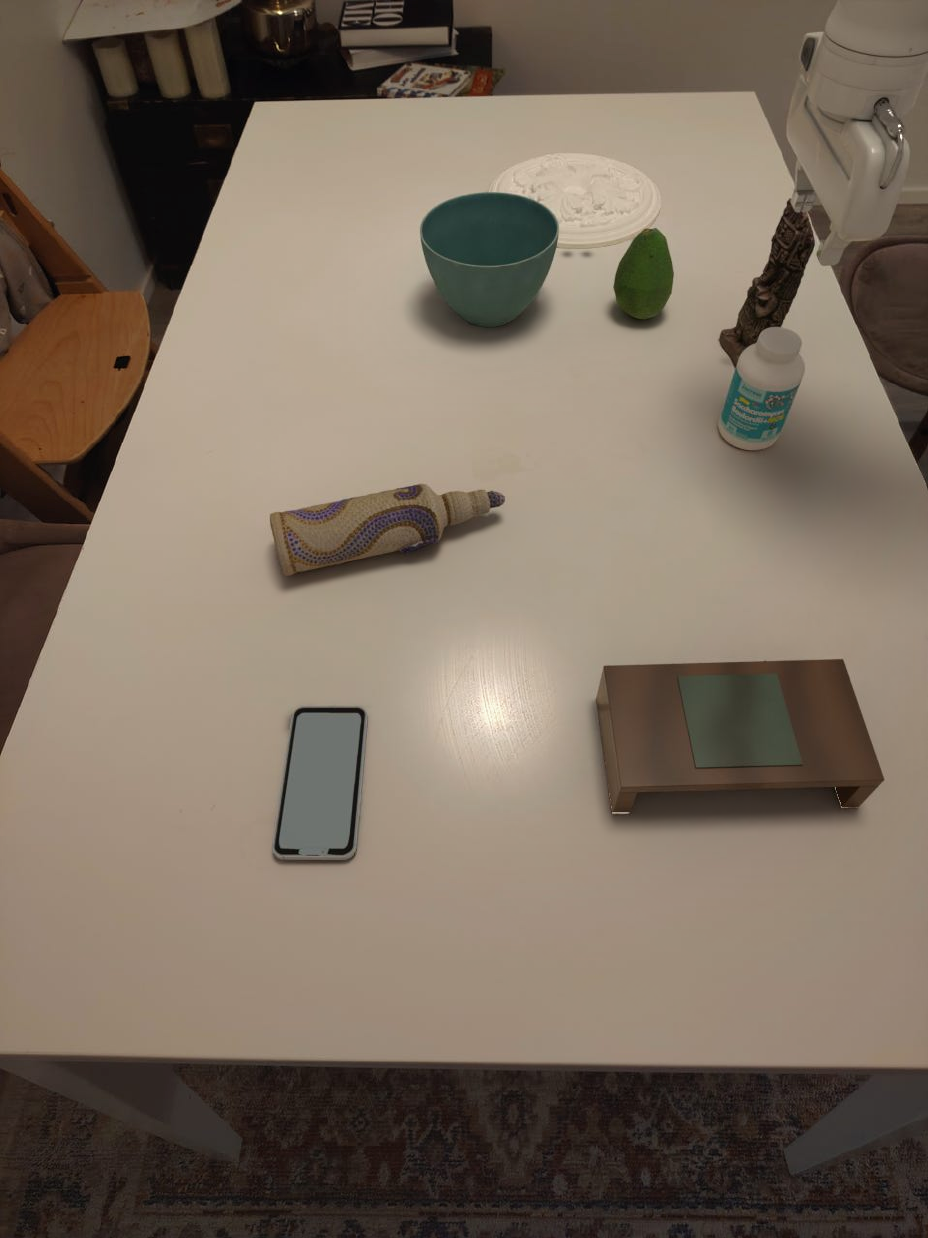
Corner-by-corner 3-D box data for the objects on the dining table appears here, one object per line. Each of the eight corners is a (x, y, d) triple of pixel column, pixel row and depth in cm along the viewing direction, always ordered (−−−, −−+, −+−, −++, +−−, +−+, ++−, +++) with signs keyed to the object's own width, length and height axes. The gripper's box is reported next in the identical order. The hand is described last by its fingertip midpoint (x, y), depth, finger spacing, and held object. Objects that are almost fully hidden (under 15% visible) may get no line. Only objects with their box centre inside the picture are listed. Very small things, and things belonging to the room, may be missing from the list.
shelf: (821, 691, 80) (844, 657, 75) (858, 808, 73) (886, 779, 68) (596, 698, 80) (603, 664, 75) (611, 815, 74) (621, 786, 68)
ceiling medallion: (617, 266, 123) (620, 246, 121) (456, 219, 132) (455, 199, 129) (686, 182, 137) (690, 163, 135) (536, 145, 146) (537, 125, 143)
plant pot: (425, 351, 112) (419, 268, 102) (424, 275, 123) (419, 192, 113) (558, 347, 112) (566, 263, 102) (546, 271, 123) (551, 188, 113)
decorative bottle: (284, 592, 89) (272, 551, 83) (276, 541, 93) (263, 499, 88) (514, 542, 92) (516, 500, 87) (495, 495, 96) (496, 452, 91)
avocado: (653, 293, 119) (668, 211, 109) (675, 325, 115) (693, 243, 105) (601, 302, 118) (611, 221, 108) (621, 335, 114) (634, 253, 104)
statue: (716, 338, 113) (756, 192, 97) (766, 332, 113) (814, 185, 97) (735, 370, 109) (780, 222, 93) (786, 363, 110) (839, 215, 93)
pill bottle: (714, 448, 100) (743, 354, 89) (718, 408, 105) (746, 314, 94) (778, 457, 99) (815, 364, 88) (779, 417, 103) (815, 323, 92)
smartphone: (368, 705, 80) (355, 857, 71) (369, 710, 80) (356, 861, 71) (292, 705, 80) (269, 857, 71) (294, 711, 80) (271, 861, 71)
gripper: (950, 132, 63) (878, 295, 74) (867, 26, 75) (816, 180, 86) (867, 134, 63) (808, 297, 74) (798, 28, 75) (756, 182, 86)
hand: (812, 234), depth 80 cm, fingers open, 8 cm apart
